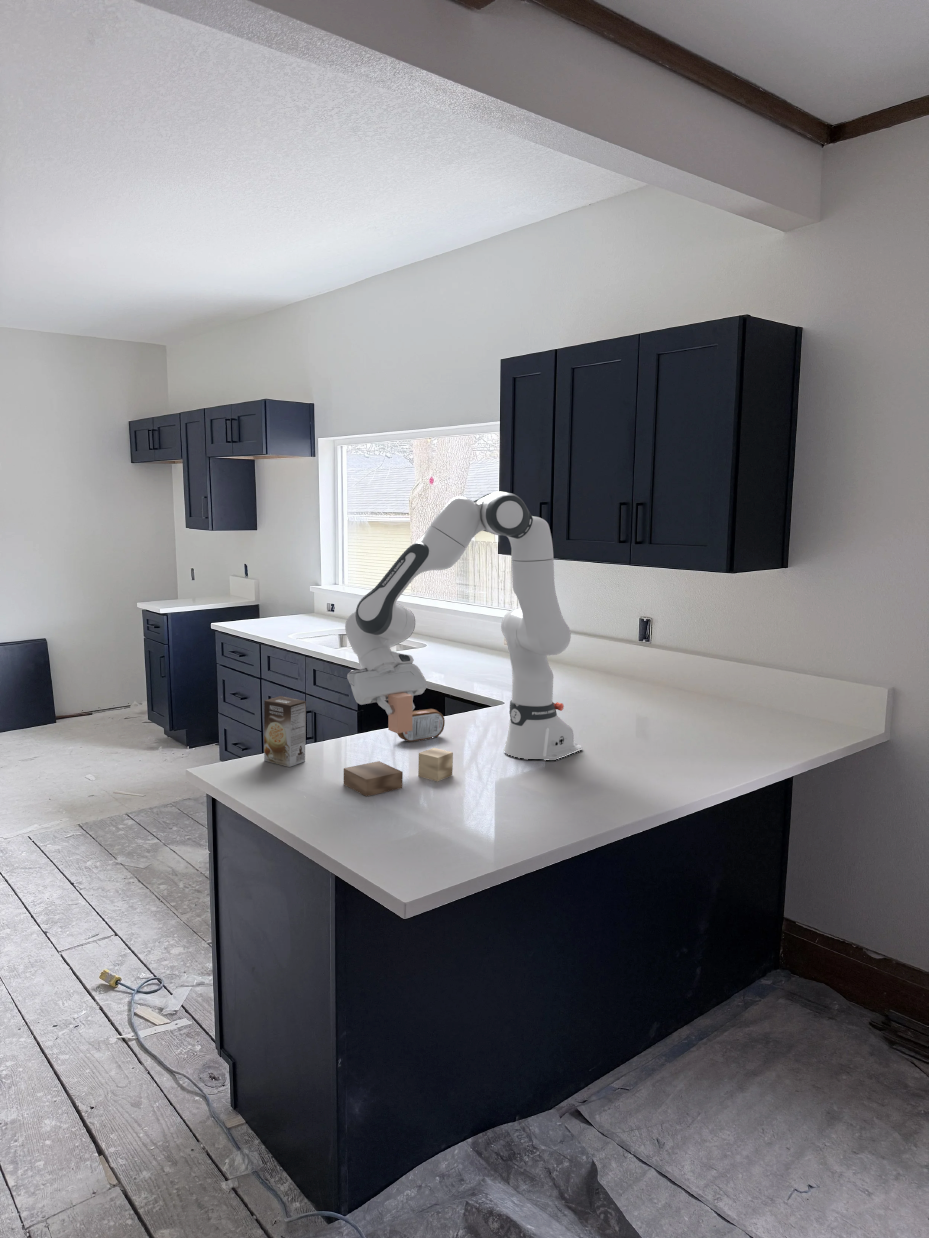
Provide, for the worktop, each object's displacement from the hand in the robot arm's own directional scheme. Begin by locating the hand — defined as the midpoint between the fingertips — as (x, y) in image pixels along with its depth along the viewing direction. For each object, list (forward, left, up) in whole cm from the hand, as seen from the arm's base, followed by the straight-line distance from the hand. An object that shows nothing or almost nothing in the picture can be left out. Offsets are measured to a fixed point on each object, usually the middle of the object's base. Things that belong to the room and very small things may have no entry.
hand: (401, 711), depth 211 cm
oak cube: (-5, +8, -15) cm, 18 cm away
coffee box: (+20, -23, -15) cm, 34 cm away
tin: (-21, -20, -15) cm, 32 cm away
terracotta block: (0, -1, -5) cm, 5 cm away
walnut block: (+12, +6, -15) cm, 21 cm away
